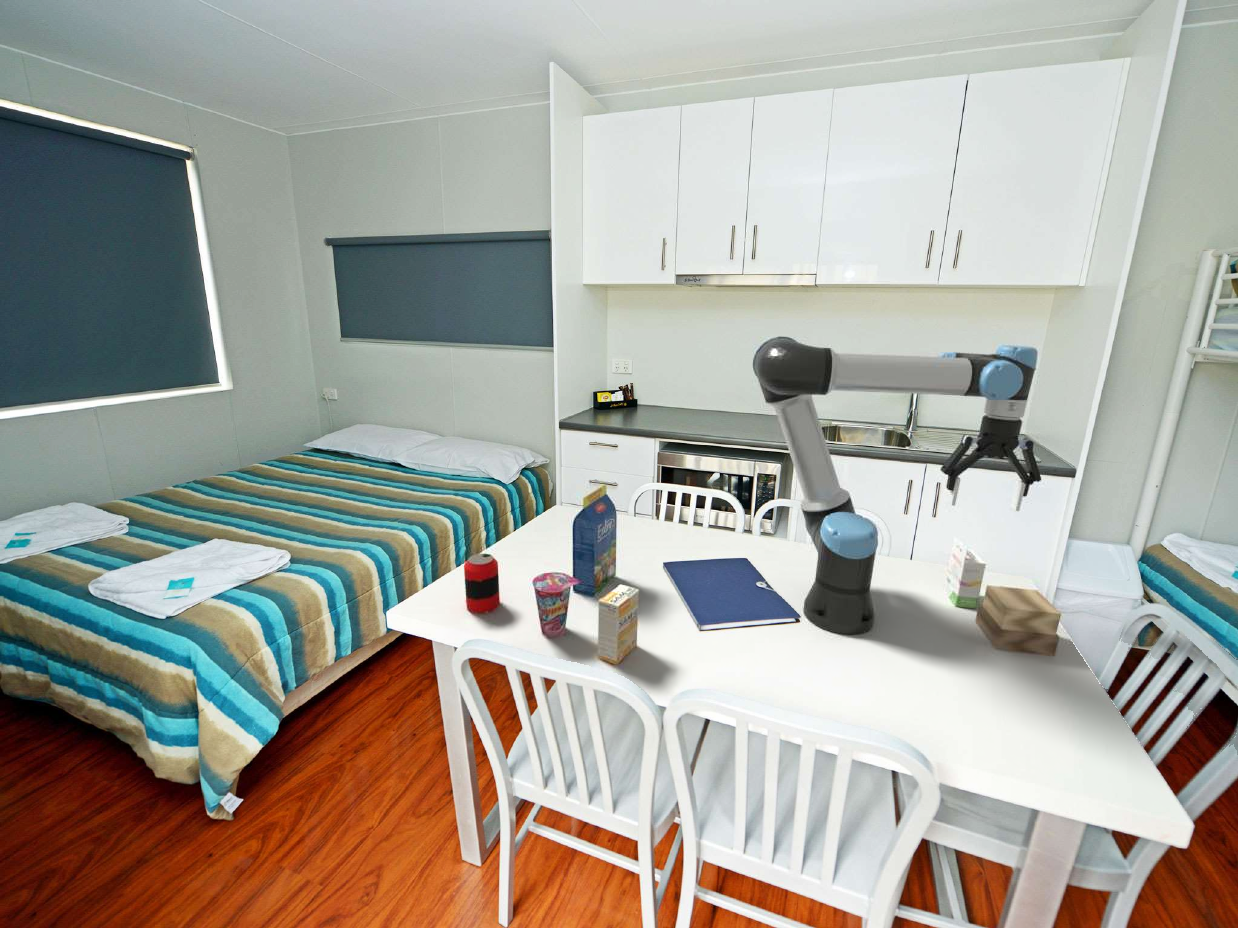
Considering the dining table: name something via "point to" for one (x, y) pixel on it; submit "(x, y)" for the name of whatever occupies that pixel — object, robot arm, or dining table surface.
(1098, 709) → the dining table surface
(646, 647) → the dining table surface
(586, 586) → the blue food package
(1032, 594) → the top slab
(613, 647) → the supplement box
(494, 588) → the soda can
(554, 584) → the cup
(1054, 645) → the base slab
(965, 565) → the ink box
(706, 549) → the dining table surface
